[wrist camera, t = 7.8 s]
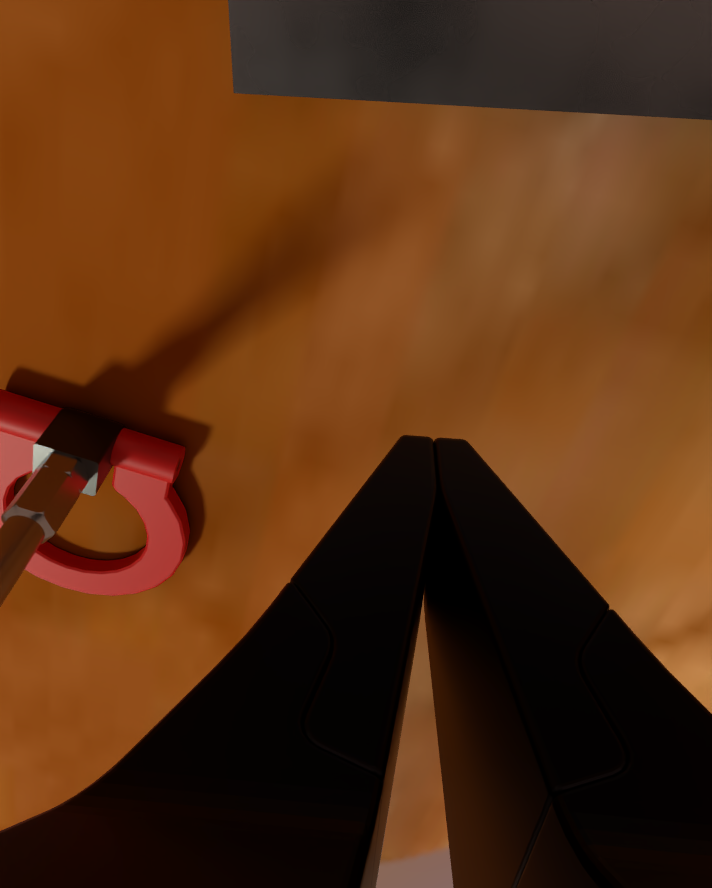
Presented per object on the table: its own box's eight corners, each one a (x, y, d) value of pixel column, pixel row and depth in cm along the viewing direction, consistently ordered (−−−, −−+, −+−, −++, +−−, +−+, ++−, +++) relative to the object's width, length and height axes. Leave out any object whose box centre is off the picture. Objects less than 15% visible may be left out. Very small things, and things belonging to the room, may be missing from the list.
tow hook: (176, 596, 30) (214, 443, 24) (39, 946, 19) (52, 823, 14) (-17, 541, 29) (-23, 369, 23) (-266, 881, 18) (-386, 719, 13)
